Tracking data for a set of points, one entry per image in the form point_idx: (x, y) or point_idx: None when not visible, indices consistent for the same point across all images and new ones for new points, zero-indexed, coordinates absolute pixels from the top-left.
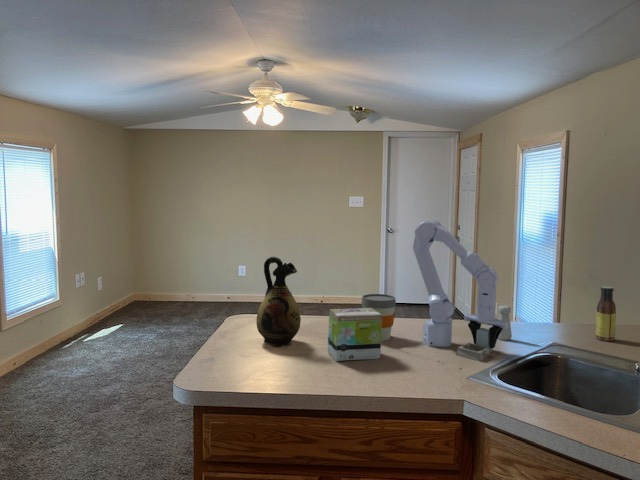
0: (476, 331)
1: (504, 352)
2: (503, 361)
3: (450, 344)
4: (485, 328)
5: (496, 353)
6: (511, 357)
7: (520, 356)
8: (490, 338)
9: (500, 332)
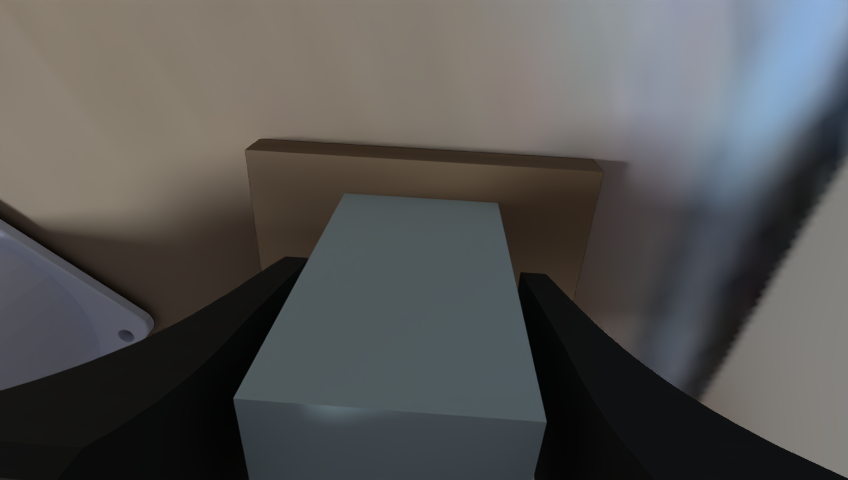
0: (236, 463)
1: (608, 14)
2: (660, 334)
3: (75, 338)
4: (323, 408)
5: (569, 267)
6: (725, 161)
7: (845, 29)
8: (535, 476)
9: (729, 435)
